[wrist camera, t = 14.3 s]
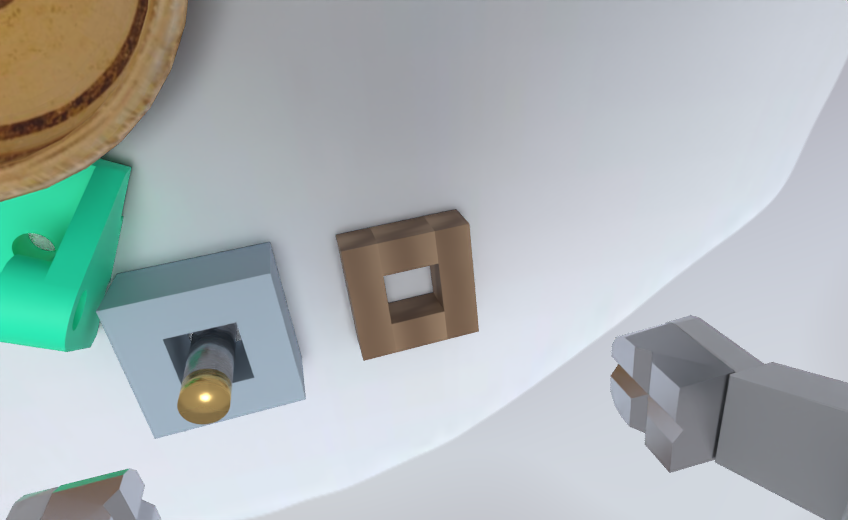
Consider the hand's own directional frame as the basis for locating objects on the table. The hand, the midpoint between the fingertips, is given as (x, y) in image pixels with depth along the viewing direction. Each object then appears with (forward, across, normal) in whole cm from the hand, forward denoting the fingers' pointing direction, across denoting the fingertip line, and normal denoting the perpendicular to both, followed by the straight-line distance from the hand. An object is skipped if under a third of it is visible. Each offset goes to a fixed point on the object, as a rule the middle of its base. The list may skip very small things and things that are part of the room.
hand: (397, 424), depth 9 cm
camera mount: (+30, +17, +4) cm, 34 cm away
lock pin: (+29, +9, +13) cm, 33 cm away
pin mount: (+29, -5, +13) cm, 32 cm away
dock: (+29, +9, +13) cm, 33 cm away
